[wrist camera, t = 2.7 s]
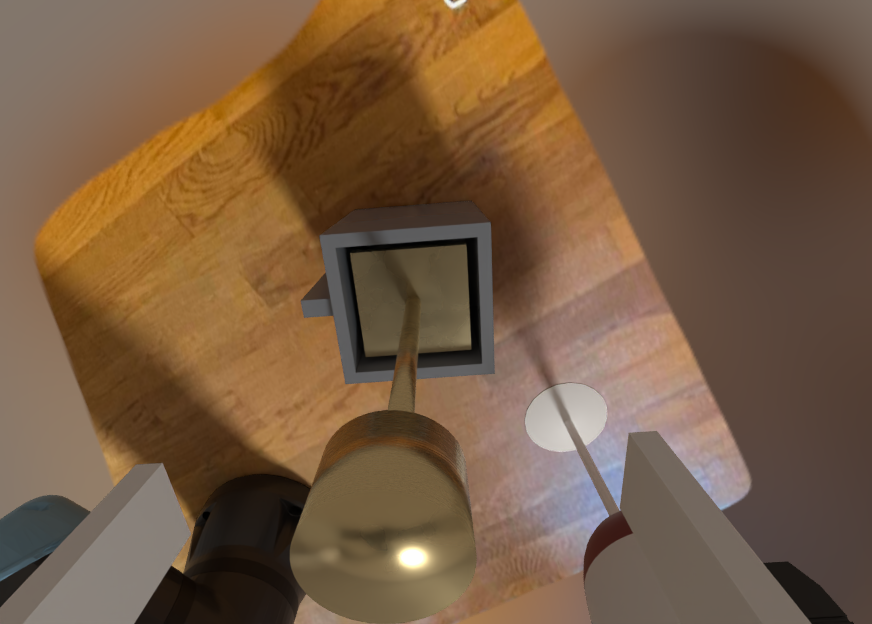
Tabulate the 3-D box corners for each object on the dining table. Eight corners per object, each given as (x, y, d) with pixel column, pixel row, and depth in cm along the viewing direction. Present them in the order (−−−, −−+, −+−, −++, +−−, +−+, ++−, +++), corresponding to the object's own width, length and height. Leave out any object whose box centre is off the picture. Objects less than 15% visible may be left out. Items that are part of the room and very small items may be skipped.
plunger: (367, 351, 29) (266, 665, 11) (352, 250, 26) (189, 449, 8) (470, 344, 28) (533, 649, 11) (465, 242, 26) (538, 426, 8)
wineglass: (520, 458, 45) (603, 737, 23) (524, 378, 41) (627, 622, 20) (604, 455, 45) (763, 732, 23) (615, 375, 41) (816, 615, 20)
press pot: (345, 319, 39) (310, 386, 27) (327, 211, 35) (278, 238, 24) (475, 309, 38) (494, 373, 27) (471, 200, 35) (490, 222, 24)
